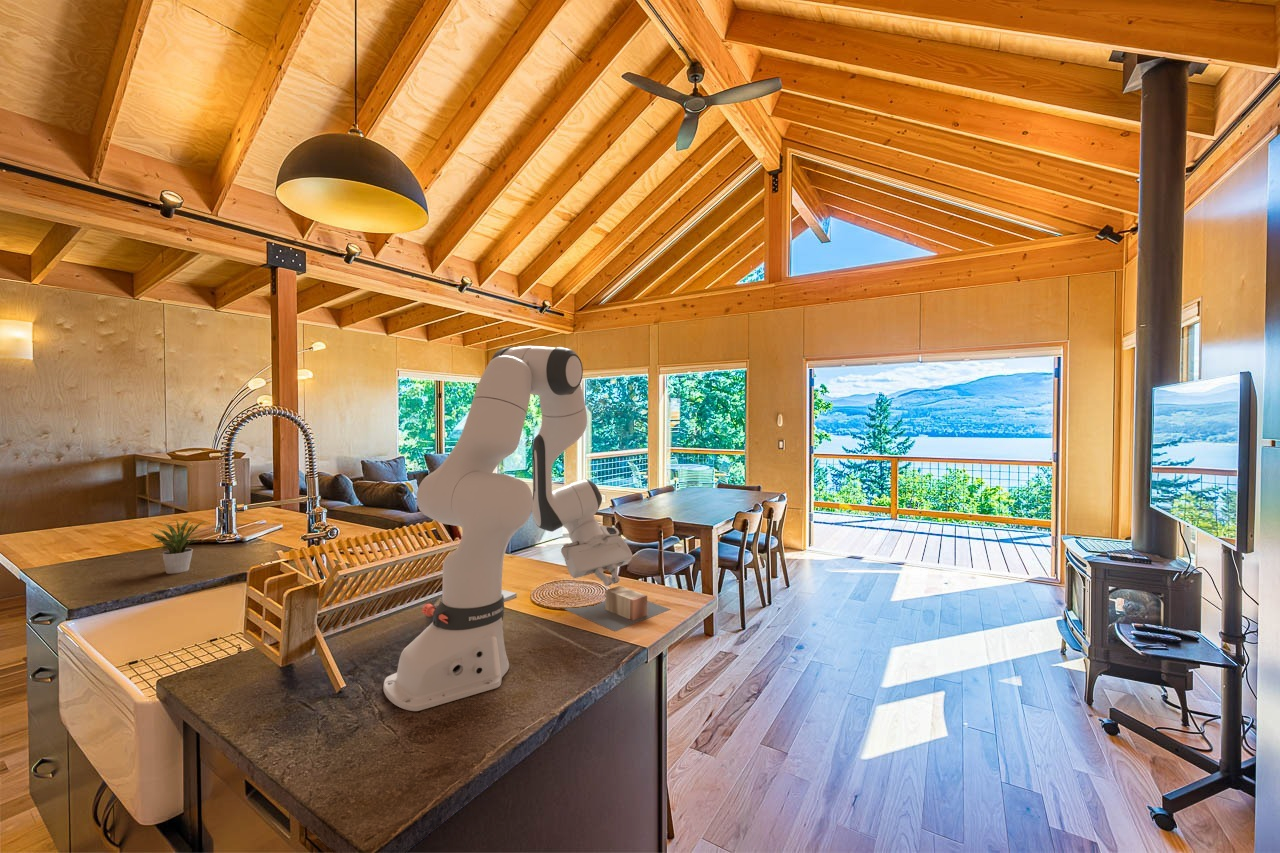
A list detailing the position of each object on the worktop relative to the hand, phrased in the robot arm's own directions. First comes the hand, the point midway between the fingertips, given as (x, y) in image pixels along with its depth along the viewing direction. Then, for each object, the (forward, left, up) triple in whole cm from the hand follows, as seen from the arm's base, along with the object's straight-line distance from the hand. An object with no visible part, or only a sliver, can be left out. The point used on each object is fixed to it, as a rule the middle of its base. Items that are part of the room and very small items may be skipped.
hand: (613, 583), depth 133 cm
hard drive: (-20, +28, -8) cm, 35 cm away
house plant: (-75, +117, -7) cm, 139 cm away
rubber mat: (0, -2, -7) cm, 7 cm away
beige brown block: (0, 0, -4) cm, 4 cm away
